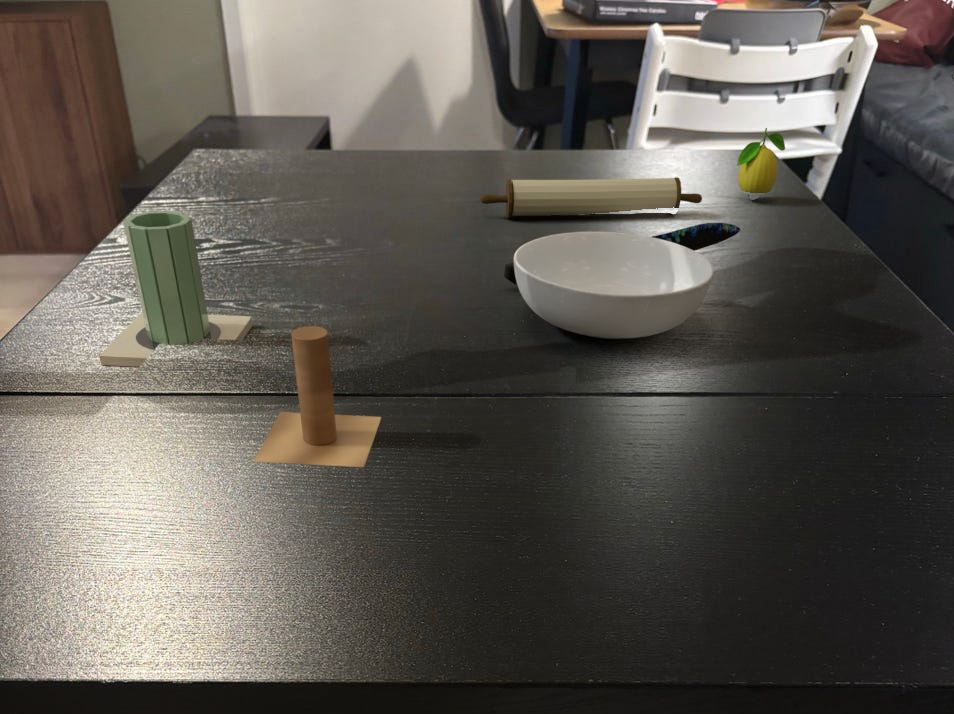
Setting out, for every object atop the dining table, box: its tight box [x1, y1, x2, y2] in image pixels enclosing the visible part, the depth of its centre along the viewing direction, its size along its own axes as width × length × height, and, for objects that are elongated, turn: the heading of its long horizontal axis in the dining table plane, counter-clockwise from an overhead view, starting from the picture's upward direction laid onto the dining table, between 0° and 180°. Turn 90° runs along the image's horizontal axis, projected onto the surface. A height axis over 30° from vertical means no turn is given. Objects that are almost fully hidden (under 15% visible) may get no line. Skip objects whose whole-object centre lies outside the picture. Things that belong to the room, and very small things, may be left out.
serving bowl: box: [513, 231, 715, 340], centre depth 100 cm, size 21×21×7 cm
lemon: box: [736, 127, 786, 194], centre depth 140 cm, size 7×6×10 cm
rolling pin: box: [480, 176, 703, 219], centre depth 134 cm, size 32×6×5 cm, turn 96°
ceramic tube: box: [122, 210, 210, 346], centre depth 92 cm, size 6×6×11 cm
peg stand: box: [253, 325, 382, 468], centre depth 76 cm, size 9×9×10 cm
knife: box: [503, 222, 741, 287], centre depth 112 cm, size 31×3×4 cm, turn 104°
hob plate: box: [98, 311, 254, 368], centre depth 96 cm, size 12×12×1 cm
